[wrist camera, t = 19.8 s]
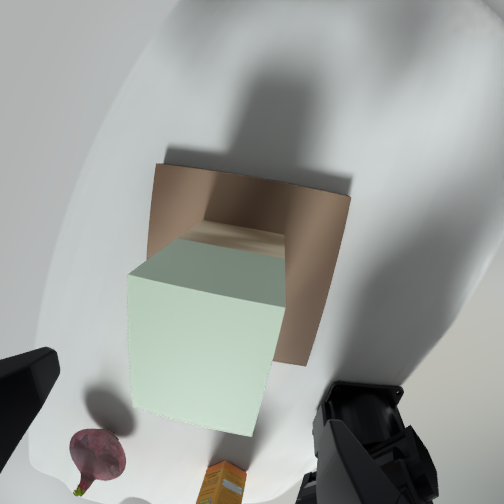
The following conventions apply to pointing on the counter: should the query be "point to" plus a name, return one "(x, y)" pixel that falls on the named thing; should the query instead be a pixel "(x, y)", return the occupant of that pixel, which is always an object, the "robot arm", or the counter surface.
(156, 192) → the walnut baseboard
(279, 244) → the beech brick
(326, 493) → the robot arm
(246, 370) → the sage green brick
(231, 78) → the counter surface
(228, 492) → the supplement box
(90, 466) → the vegetable
